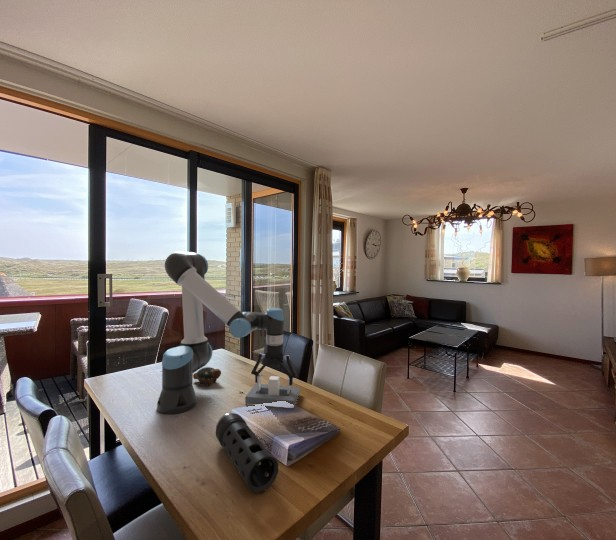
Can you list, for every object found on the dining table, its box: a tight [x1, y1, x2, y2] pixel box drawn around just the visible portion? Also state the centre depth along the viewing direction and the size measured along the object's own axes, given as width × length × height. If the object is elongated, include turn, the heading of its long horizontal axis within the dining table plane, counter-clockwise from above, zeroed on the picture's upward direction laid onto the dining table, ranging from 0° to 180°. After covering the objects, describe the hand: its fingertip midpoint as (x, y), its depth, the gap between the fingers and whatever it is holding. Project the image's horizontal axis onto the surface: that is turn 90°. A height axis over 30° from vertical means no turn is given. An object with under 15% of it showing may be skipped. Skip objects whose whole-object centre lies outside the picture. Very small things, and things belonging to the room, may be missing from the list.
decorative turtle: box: [193, 366, 222, 387], centre depth 148 cm, size 10×15×8 cm, turn 80°
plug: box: [267, 375, 281, 395], centre depth 132 cm, size 4×4×9 cm
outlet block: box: [244, 383, 301, 406], centre depth 132 cm, size 21×14×4 cm, turn 82°
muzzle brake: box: [215, 412, 279, 494], centre depth 89 cm, size 10×28×10 cm, turn 34°
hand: (273, 391), depth 132 cm, fingers open, 13 cm apart
